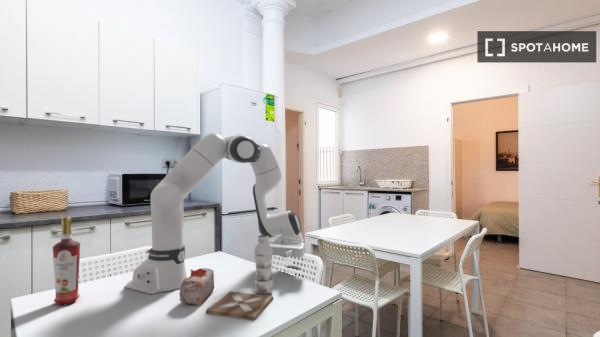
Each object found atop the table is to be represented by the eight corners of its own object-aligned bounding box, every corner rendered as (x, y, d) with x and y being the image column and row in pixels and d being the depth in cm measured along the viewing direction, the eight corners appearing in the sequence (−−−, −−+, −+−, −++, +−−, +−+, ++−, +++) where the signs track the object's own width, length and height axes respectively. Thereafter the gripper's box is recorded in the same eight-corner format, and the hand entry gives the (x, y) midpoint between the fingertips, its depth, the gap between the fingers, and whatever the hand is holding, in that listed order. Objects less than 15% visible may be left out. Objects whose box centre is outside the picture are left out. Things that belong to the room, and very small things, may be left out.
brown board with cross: (206, 313, 96) (206, 309, 96) (230, 294, 110) (230, 291, 110) (254, 319, 91) (254, 316, 91) (273, 299, 106) (273, 295, 106)
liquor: (50, 308, 100) (49, 220, 100) (56, 300, 106) (55, 216, 106) (78, 304, 103) (77, 218, 103) (82, 296, 109) (81, 215, 109)
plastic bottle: (270, 297, 107) (270, 238, 107) (251, 295, 109) (251, 237, 109) (275, 290, 114) (275, 234, 114) (257, 288, 115) (257, 233, 115)
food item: (202, 307, 100) (201, 276, 100) (177, 307, 101) (177, 276, 101) (216, 290, 114) (216, 263, 114) (194, 290, 114) (194, 263, 114)
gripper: (262, 236, 137) (248, 244, 123) (307, 239, 131) (298, 247, 118) (262, 251, 137) (248, 260, 124) (308, 254, 131) (298, 264, 118)
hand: (273, 254), depth 121 cm, fingers open, 8 cm apart
